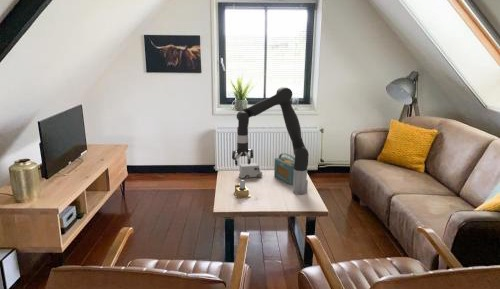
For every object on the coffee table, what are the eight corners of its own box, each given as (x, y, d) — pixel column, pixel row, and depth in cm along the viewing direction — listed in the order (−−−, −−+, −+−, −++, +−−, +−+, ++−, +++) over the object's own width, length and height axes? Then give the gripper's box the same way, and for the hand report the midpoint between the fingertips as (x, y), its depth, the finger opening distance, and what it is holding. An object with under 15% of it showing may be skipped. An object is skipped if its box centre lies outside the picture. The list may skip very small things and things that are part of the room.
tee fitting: (244, 190, 262) (244, 183, 261) (250, 197, 250) (250, 190, 249) (232, 192, 259) (232, 185, 258) (238, 198, 247) (238, 191, 246)
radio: (273, 175, 296) (273, 151, 291) (284, 173, 300) (285, 150, 296) (290, 185, 273) (291, 159, 269) (302, 183, 278) (303, 158, 274)
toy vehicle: (262, 177, 291) (263, 165, 289) (240, 179, 287) (240, 166, 285) (259, 174, 300) (260, 162, 297) (238, 175, 295) (238, 163, 293)
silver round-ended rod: (243, 193, 255) (244, 179, 252) (245, 195, 252) (245, 181, 249) (239, 193, 254) (239, 180, 251) (240, 195, 250) (240, 181, 248)
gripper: (250, 139, 250) (250, 162, 253) (230, 140, 245) (230, 164, 249) (254, 141, 243) (254, 165, 247) (234, 143, 238) (234, 167, 242)
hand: (242, 164), depth 248 cm, fingers open, 8 cm apart
